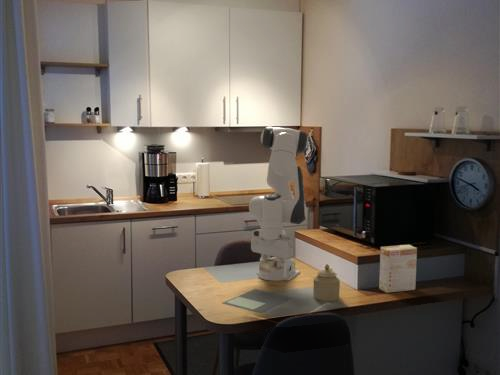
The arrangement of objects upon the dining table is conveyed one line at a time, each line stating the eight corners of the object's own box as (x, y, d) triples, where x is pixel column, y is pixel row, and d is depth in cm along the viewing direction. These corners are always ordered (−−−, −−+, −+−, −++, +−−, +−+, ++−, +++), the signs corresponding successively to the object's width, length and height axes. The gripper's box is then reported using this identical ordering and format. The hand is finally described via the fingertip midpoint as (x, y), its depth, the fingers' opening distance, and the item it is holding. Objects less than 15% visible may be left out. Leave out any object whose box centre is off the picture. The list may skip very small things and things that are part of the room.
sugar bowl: (307, 291, 253) (308, 258, 251) (331, 290, 255) (332, 257, 253) (317, 303, 239) (318, 268, 237) (342, 301, 241) (344, 266, 239)
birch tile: (274, 265, 244) (274, 256, 244) (283, 268, 241) (283, 258, 241) (259, 270, 237) (259, 261, 236) (268, 272, 234) (268, 263, 233)
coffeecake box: (406, 285, 264) (408, 244, 261) (415, 290, 257) (418, 247, 254) (378, 288, 259) (379, 246, 256) (386, 293, 252) (388, 250, 250)
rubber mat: (255, 290, 255) (255, 288, 255) (293, 299, 243) (293, 297, 243) (221, 304, 236) (221, 302, 236) (261, 314, 224) (261, 313, 224)
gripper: (297, 235, 233) (296, 268, 234) (258, 228, 246) (258, 260, 248) (287, 238, 228) (287, 272, 230) (248, 231, 241) (248, 262, 243)
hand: (271, 265), depth 239 cm, fingers closed on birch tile, 5 cm apart
